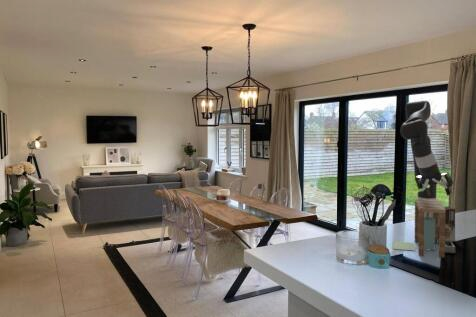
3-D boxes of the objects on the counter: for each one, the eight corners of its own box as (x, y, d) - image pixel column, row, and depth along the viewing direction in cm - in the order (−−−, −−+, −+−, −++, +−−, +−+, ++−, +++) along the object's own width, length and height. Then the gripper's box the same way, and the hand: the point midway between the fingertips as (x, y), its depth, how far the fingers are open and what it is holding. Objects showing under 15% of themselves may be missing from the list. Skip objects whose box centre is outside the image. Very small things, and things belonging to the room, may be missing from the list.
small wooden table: (414, 240, 179) (414, 198, 178) (437, 241, 176) (437, 199, 174) (418, 255, 158) (419, 208, 157) (444, 257, 154) (445, 209, 153)
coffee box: (449, 237, 182) (449, 206, 181) (455, 241, 176) (456, 208, 175) (430, 237, 183) (430, 206, 182) (435, 241, 177) (436, 209, 176)
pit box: (441, 246, 169) (441, 240, 169) (451, 247, 167) (451, 241, 167) (444, 252, 160) (444, 246, 160) (455, 253, 159) (455, 247, 159)
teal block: (422, 246, 170) (422, 217, 169) (433, 247, 168) (433, 217, 167) (423, 249, 166) (423, 219, 165) (434, 250, 164) (435, 220, 163)
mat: (393, 241, 178) (393, 241, 178) (413, 243, 175) (413, 242, 175) (393, 249, 167) (393, 248, 167) (415, 251, 164) (415, 250, 164)
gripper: (446, 157, 154) (458, 190, 157) (413, 161, 165) (425, 192, 168) (441, 165, 150) (453, 198, 153) (407, 169, 161) (419, 200, 164)
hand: (438, 195), depth 161 cm, fingers open, 8 cm apart
